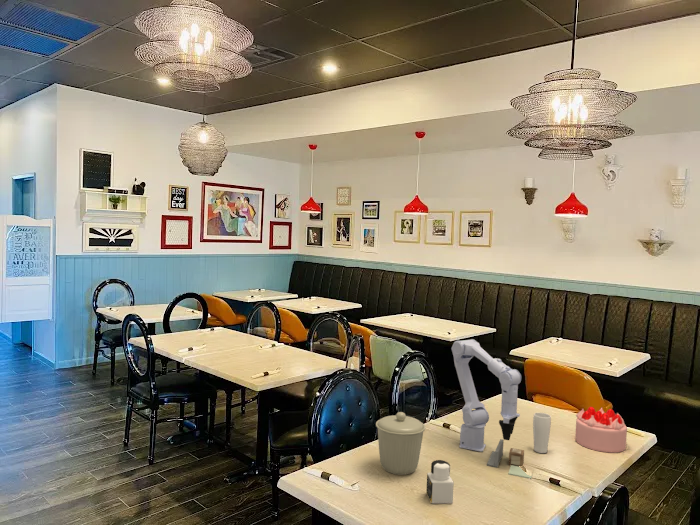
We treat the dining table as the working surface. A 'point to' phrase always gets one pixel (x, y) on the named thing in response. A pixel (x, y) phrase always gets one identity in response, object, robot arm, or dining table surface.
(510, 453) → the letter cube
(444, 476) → the medicine bottle
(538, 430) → the beige paper cup
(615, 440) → the cake
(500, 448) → the grey block
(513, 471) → the pad
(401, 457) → the canister
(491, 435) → the dining table surface
